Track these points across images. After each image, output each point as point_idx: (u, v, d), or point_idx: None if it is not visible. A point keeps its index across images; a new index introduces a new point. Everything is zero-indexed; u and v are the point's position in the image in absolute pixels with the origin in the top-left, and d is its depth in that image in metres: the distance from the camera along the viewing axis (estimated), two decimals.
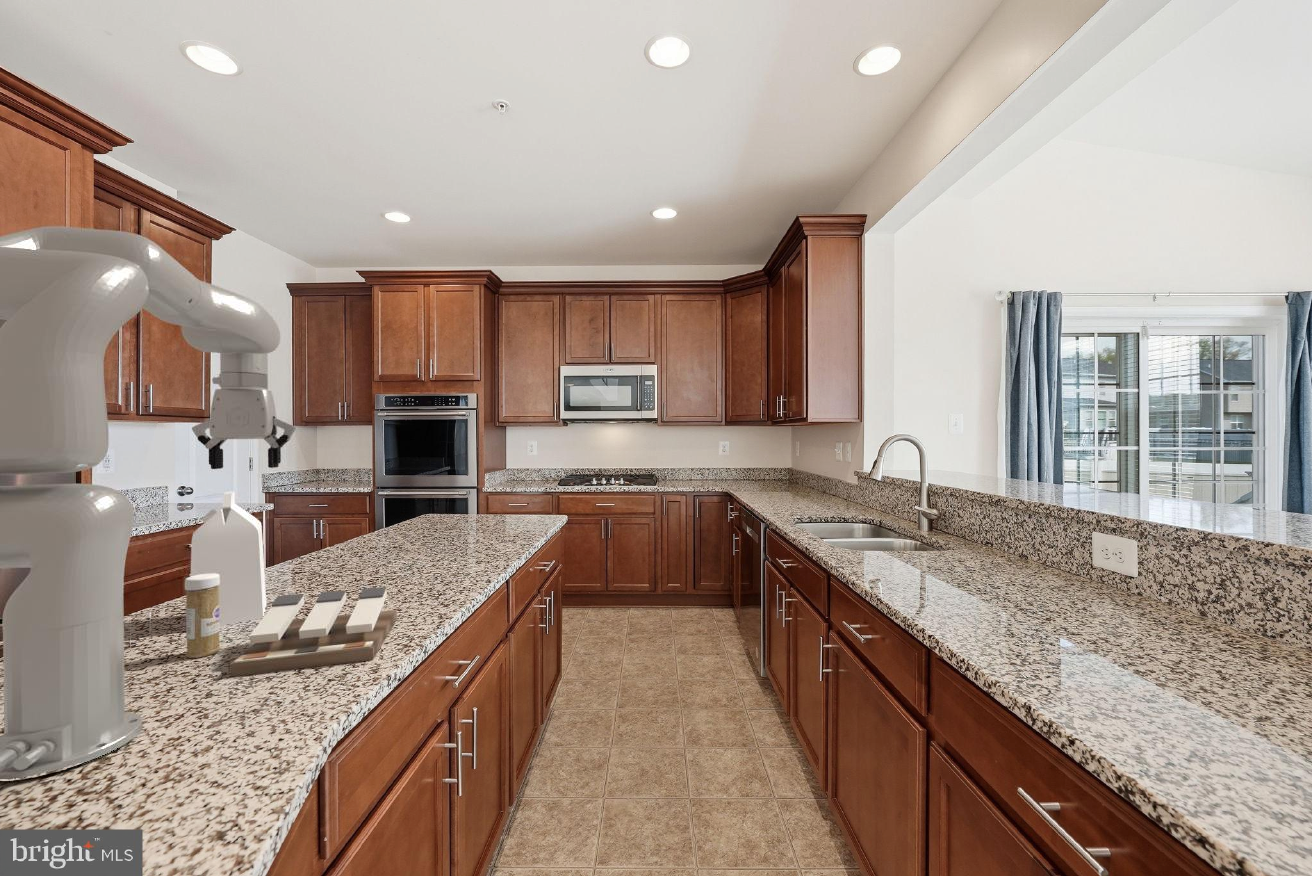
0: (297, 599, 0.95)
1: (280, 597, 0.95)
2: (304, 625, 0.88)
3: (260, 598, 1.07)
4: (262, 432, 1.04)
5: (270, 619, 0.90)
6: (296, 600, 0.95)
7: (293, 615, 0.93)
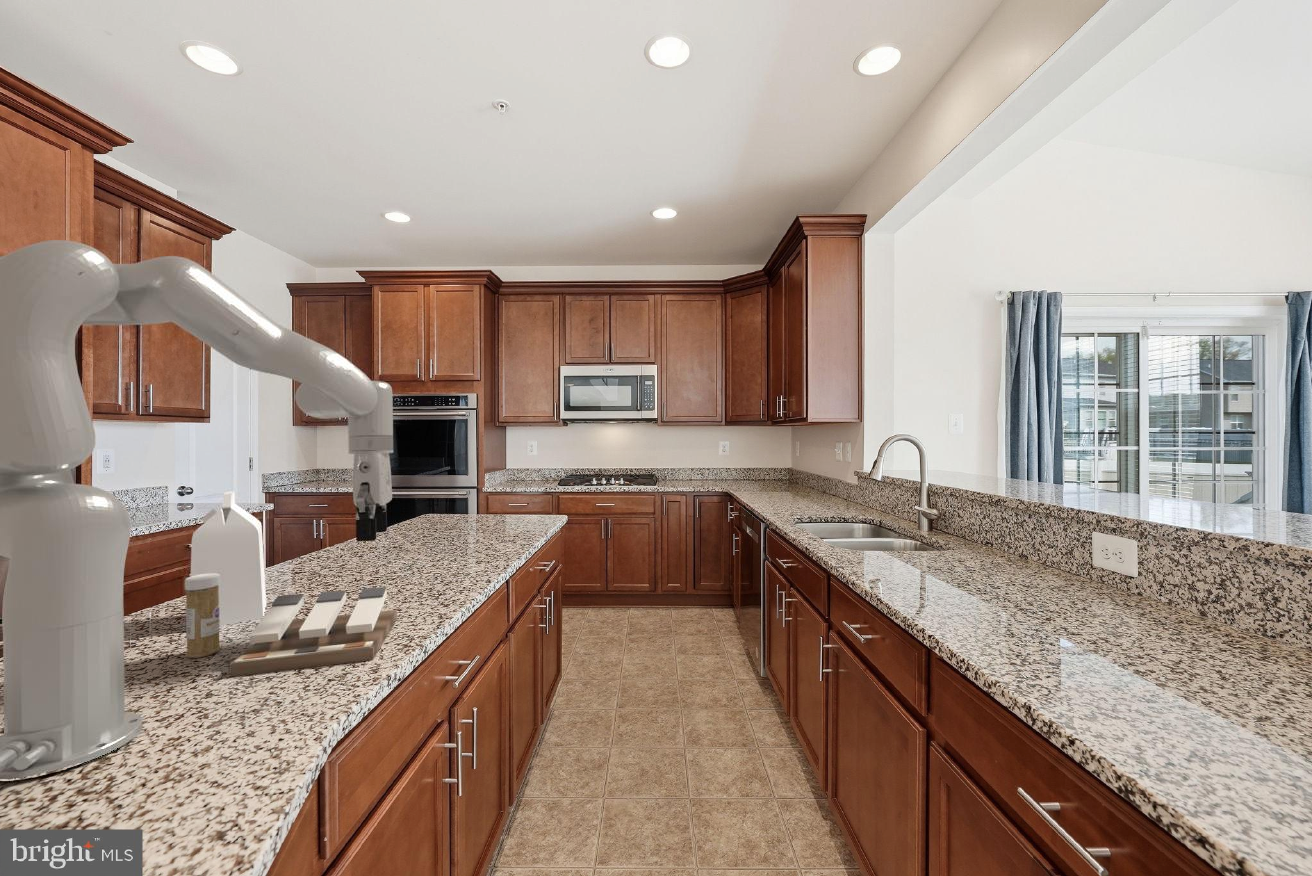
0: (297, 599, 0.95)
1: (280, 597, 0.95)
2: (304, 625, 0.88)
3: (260, 598, 1.07)
4: (391, 494, 1.04)
5: (270, 619, 0.90)
6: (296, 600, 0.95)
7: (293, 615, 0.93)
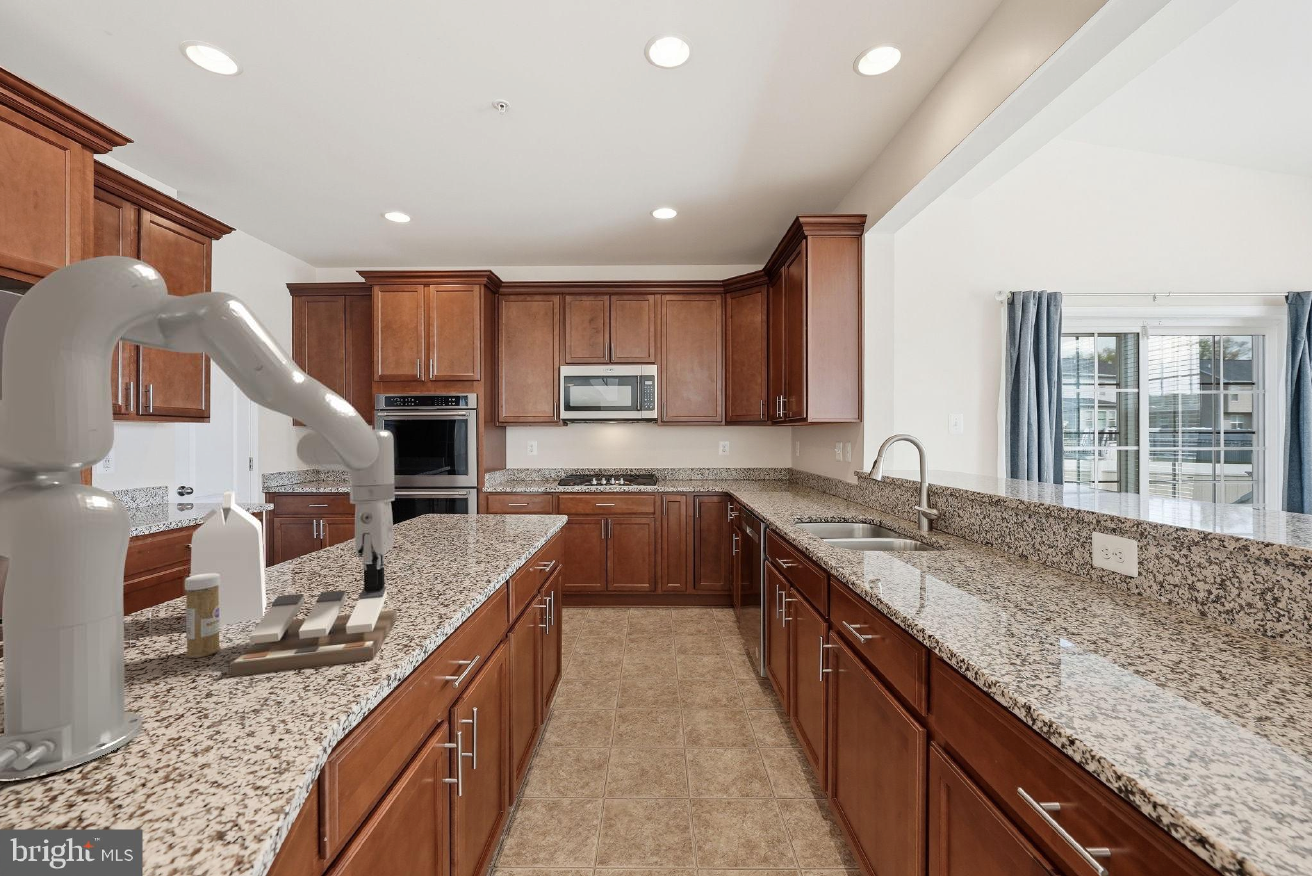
0: (297, 599, 0.95)
1: (280, 597, 0.95)
2: (304, 625, 0.88)
3: (260, 598, 1.07)
4: (393, 540, 1.04)
5: (270, 619, 0.90)
6: (296, 600, 0.95)
7: (293, 615, 0.93)
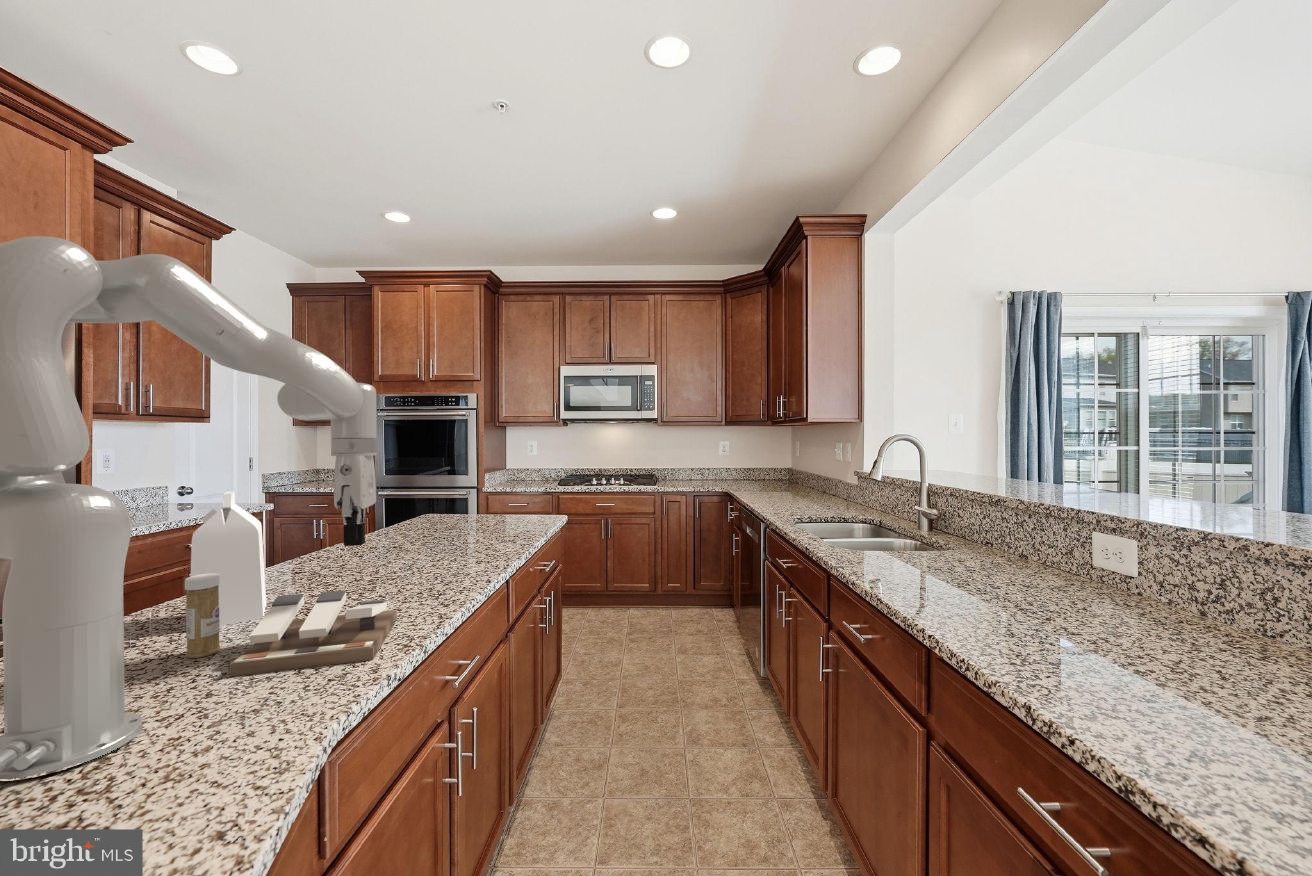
0: (297, 599, 0.95)
1: (280, 597, 0.95)
2: (304, 625, 0.88)
3: (260, 598, 1.07)
4: (375, 498, 1.03)
5: (270, 619, 0.90)
6: (296, 600, 0.95)
7: (293, 615, 0.93)
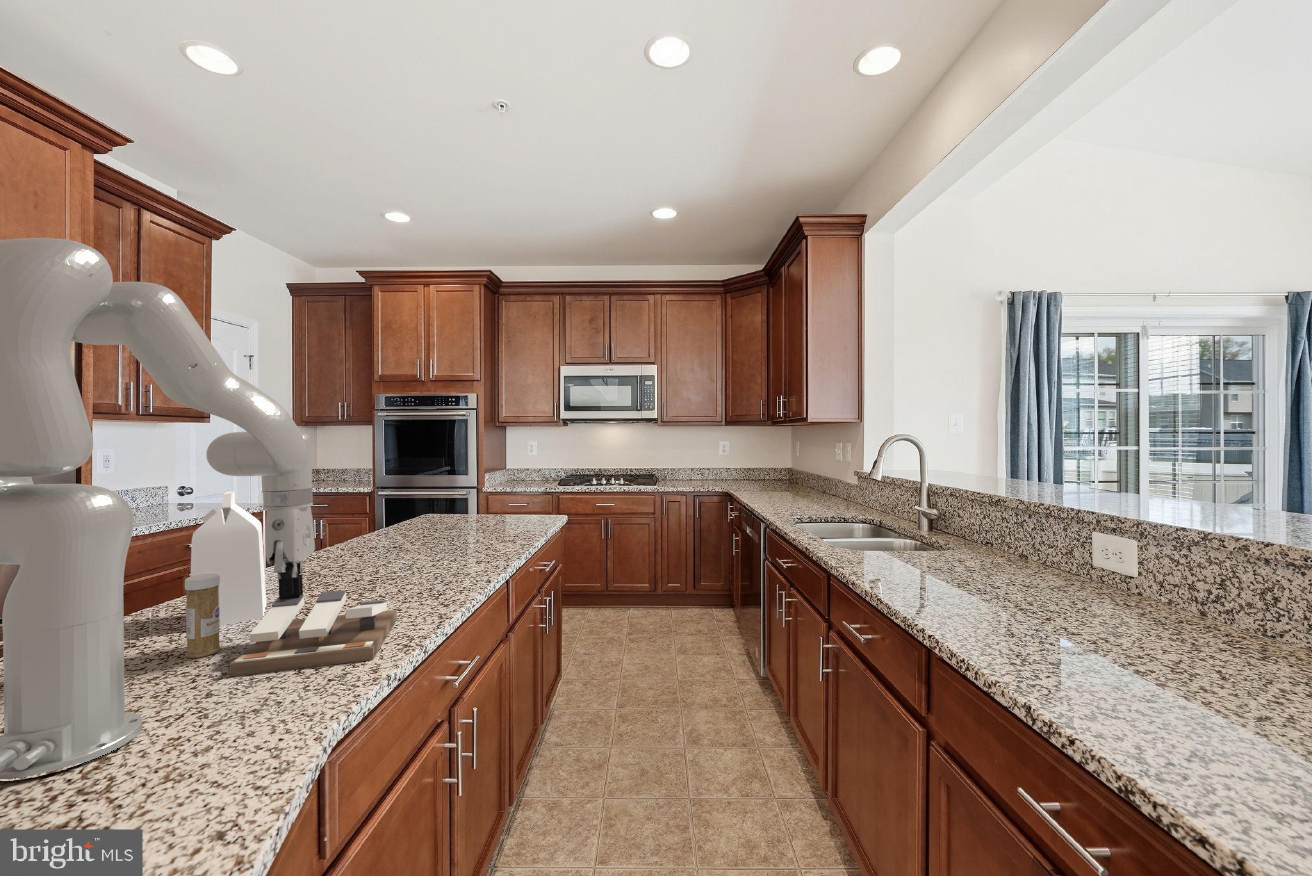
0: (297, 600, 0.95)
1: None
2: (304, 625, 0.88)
3: (260, 598, 1.07)
4: (314, 546, 1.01)
5: (270, 618, 0.90)
6: (296, 601, 0.95)
7: (293, 615, 0.93)
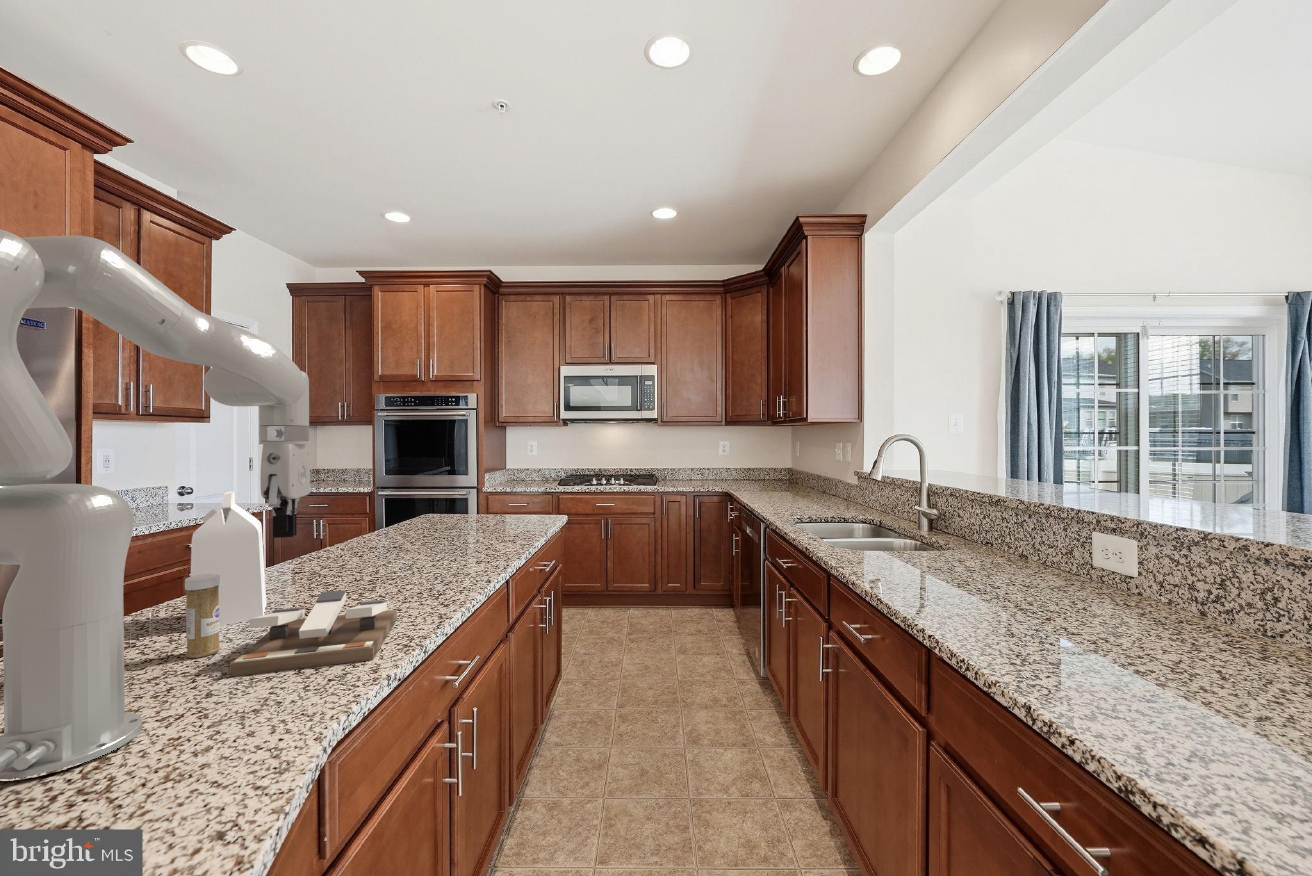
0: (298, 608, 0.96)
1: None
2: (304, 625, 0.88)
3: (260, 598, 1.07)
4: (309, 488, 1.00)
5: (271, 614, 0.90)
6: (297, 608, 0.95)
7: (293, 617, 0.92)
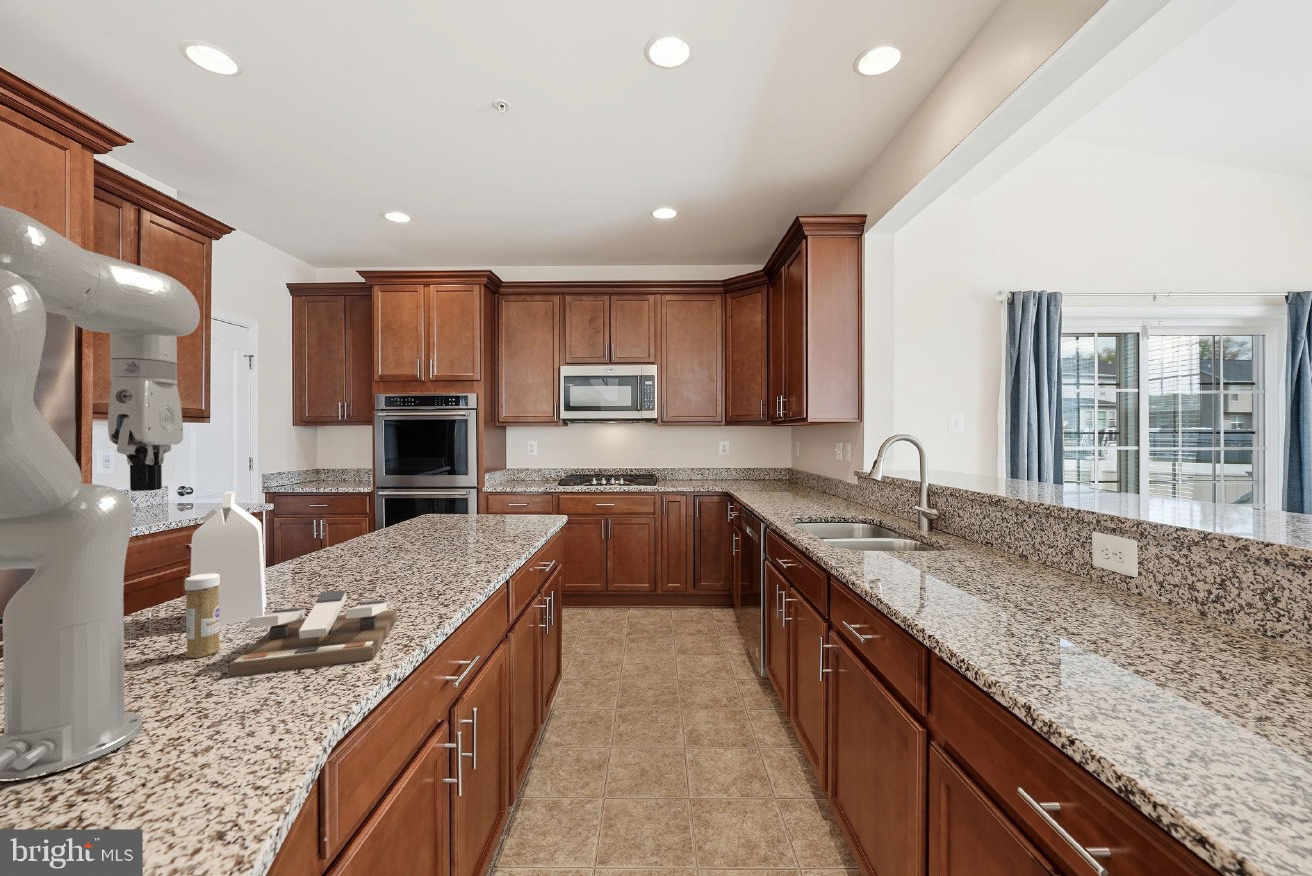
0: (298, 608, 0.96)
1: (281, 609, 0.96)
2: (304, 625, 0.88)
3: (260, 598, 1.07)
4: (181, 436, 0.87)
5: (271, 614, 0.90)
6: (297, 608, 0.95)
7: (293, 617, 0.92)
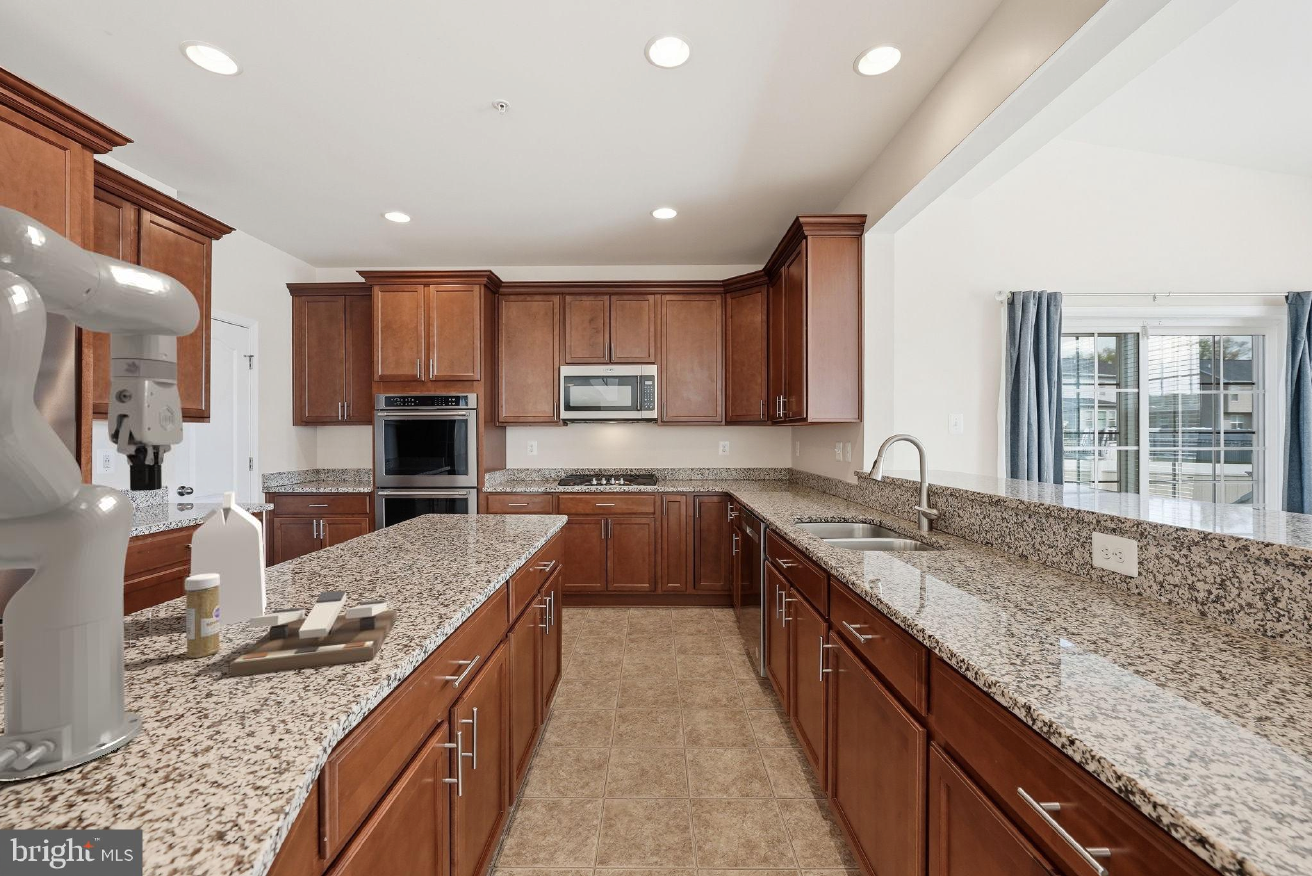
0: (298, 608, 0.96)
1: (281, 609, 0.96)
2: (304, 625, 0.88)
3: (260, 598, 1.07)
4: (181, 436, 0.87)
5: (271, 614, 0.90)
6: (297, 608, 0.95)
7: (293, 617, 0.92)
